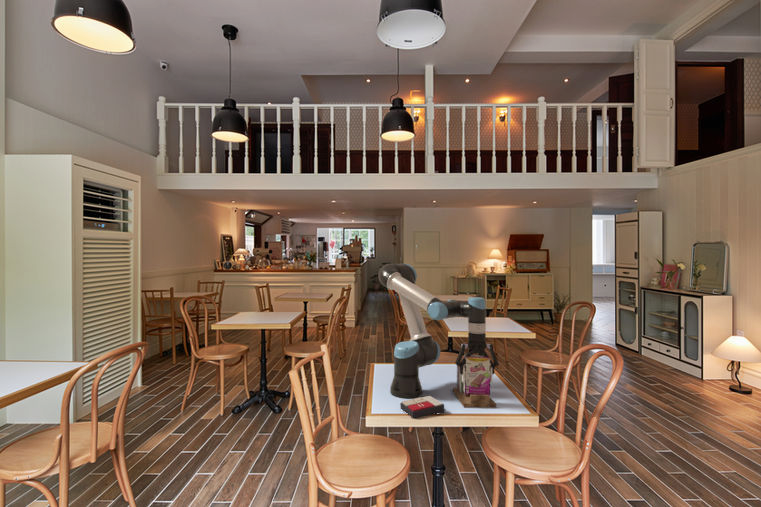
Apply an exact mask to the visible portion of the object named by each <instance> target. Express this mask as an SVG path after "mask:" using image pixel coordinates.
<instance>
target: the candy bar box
mask: <svg viewBox="0 0 761 507" xmlns="http://www.w3.org/2000/svg"><path fill="white" fill-rule="evenodd" d="M465 355H466V354H463V358H464V357H465V365H464V367H465V383H464V393H465V394H471V395H489V396H491V382H490V366H491V365H490V364H491V361H492V360H491V357H490V356H489V357H485V356H484V355H482V354H480V355H477V354H472V355H471V356H470V357H466V356H465Z"/></svg>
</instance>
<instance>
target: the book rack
mask: <svg viewBox="0 0 761 507" xmlns="http://www.w3.org/2000/svg"><path fill="white" fill-rule="evenodd" d="M452 392H453V393H454V395H455V396H456V398H457V399H458V401H459V403H460V404H461V405H462V406H463V408H497V403H496V402H495V401H494V400H493V398H491V397H490V395H471V394H465V393H464V383H463V382H462V374H460V367H459V366H457V365H456V387H452Z"/></svg>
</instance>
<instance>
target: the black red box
mask: <svg viewBox="0 0 761 507" xmlns="http://www.w3.org/2000/svg"><path fill="white" fill-rule="evenodd" d="M401 409H402V410H403V412H404V411H405V412H406V413H408V414H409V415H410V416H411V417H410V416H409V415H408V414H407V415H408V416H409V417H410V418H411V419H419V418H424V417H425V418H426V417H429V416H428V415H430V416H433V415H432V414H434V415H438V414H437V413H442V414H445V404H444V403H443V402H441V401H439V400H437V399H436V398H434V397H433V396H431V395H428V396H427V395H426V396H423V397H421V396H419V397H415V398H412V399H407V400H403V401H401V402H400V410H401ZM402 410H401V411H402ZM405 412H404V413H405ZM406 413H405V414H406Z"/></svg>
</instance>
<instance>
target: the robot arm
mask: <svg viewBox="0 0 761 507" xmlns="http://www.w3.org/2000/svg"><path fill="white" fill-rule="evenodd" d="M417 278H418V275H417V271H416V269H415V267H414V266H413V265H410V264H407V263H386V264H384V265H383V266H381V268H379V271H378V280H379V282H380V284H381V285H383V286H384V287H385V288H386V289H388V290H390V291H392V290H394V292H396V293H397V294H398V297H399V300H400V303H401V307H402V311H403V313H404V318H405V321H406V324H407V329H408V332H409V335H410V339H409V340H406V341H400V342H398V343H396V344H395V345H394V352H393V356H394V357H393V360H394V361H393V365H394V366H393V367H394V368H393V374H394V375H393V378H392V381H391V384H390V387H389V388H390V389H389V392H390V394H391V395H392V396H393V397H396V398H402V399H416V398H420V397H421V396H422V395H423V387H422V383H421V381H420V378H419V374H420V373H419V369H420V368H422V367H426V366H430V365H433V364H435V363H437V362H438V360H439V358H440V356H441V348H440V345H439V344H438V342H437V341H436V340H433V336H432V335H431V334H430V333H428V331H427V327H426V324H425V320H424V317H423V315H422V311H421V309H423V310H425V311H426V312H427V314H428V316H429V317H430V318H431V319H432V320H436V321H442V320H446V319H452V318H465V319H466V318H467V319H468V321H467V322H468V326H467V331H468V333H467V335H468V337H467V341H468V342H467V343H463V342H462V343H461V344H460V349H459V353H458V355H457V357H456V360H455V365H456V367H457V366H459V367H460V374H462V382H463V383H465V367H464V365H465V357H464V355H465V356H466V357H470V356H471V355H477V354H480V355H482V356H485V357H490V356H491V358H492V360H491V364H490V384H491V383H493V375H495V368H496V367H499V365H500V363H499V360H498V359H497V356H496V354H495V351H494V344H492V343H491V342H490V343H486V342H487V341H486V340H487V338H486V336H487V334H486V331H487V330H486V329H487V328H486V327H487V326H486V324H487V323H486V316H487V315H486V313H487V312H486V311H487V307H486V306H487V305H486V299H485V298H484V297H476V296H469V297H468V300H461V299H460V300H459V299H458V300H457V299H448V300H446V301H443V300H441V299H440V298H438V297H437V296H434V295H433V294H431V293H430V292H428V291H426V290H425V289H423V288H421V287H420V286H418V285H416V282H417ZM467 348H468V349H467ZM486 348H487V349H488V351H489V353H490V356H489V355H488V354H487V352H486V350H485V349H486ZM466 349H467V352H466V354H465V351H466Z"/></svg>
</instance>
